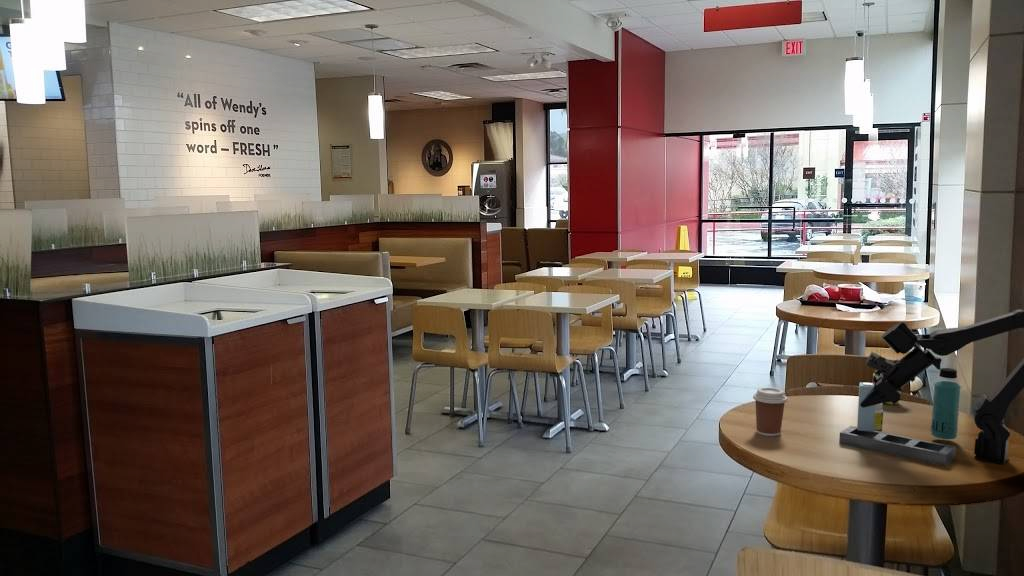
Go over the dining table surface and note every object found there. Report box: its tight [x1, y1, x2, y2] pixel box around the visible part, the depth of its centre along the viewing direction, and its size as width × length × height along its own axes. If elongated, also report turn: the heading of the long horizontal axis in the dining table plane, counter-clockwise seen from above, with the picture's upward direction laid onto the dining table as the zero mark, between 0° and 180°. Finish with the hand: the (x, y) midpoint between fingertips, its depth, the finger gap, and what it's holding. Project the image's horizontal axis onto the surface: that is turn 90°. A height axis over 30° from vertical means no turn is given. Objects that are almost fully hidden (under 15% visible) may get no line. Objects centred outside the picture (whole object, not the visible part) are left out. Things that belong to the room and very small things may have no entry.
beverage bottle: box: [929, 367, 962, 440], centre depth 219 cm, size 6×7×20 cm
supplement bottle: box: [874, 403, 884, 432], centre depth 228 cm, size 5×5×8 cm
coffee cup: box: [752, 386, 788, 437], centre depth 226 cm, size 9×9×12 cm
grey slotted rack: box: [838, 425, 956, 467], centre depth 212 cm, size 26×8×3 cm, turn 48°
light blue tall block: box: [856, 382, 875, 432], centre depth 216 cm, size 4×4×12 cm
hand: (861, 404), depth 217 cm, fingers closed on light blue tall block, 4 cm apart
